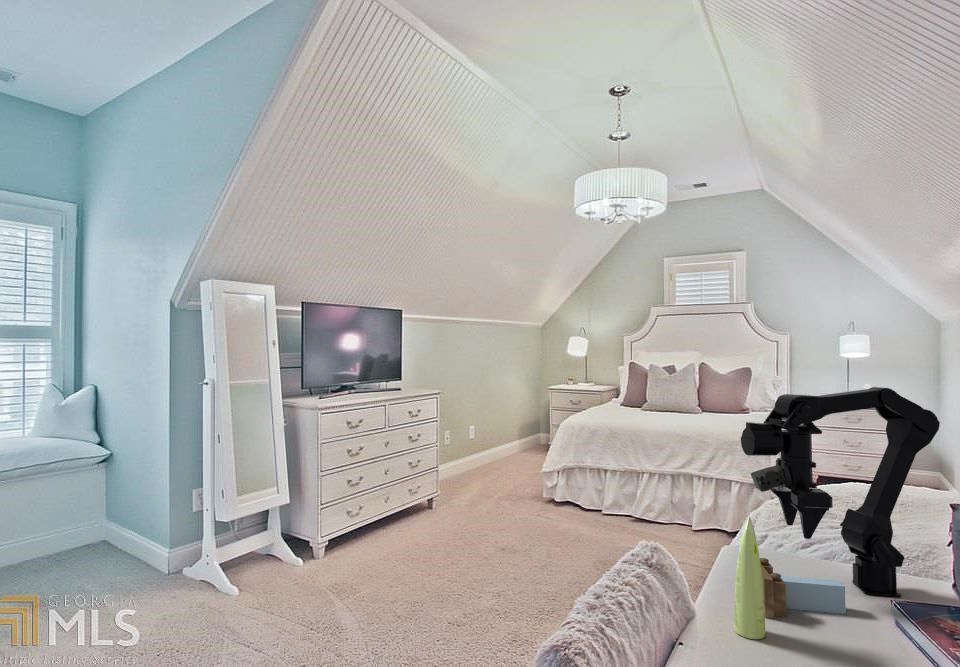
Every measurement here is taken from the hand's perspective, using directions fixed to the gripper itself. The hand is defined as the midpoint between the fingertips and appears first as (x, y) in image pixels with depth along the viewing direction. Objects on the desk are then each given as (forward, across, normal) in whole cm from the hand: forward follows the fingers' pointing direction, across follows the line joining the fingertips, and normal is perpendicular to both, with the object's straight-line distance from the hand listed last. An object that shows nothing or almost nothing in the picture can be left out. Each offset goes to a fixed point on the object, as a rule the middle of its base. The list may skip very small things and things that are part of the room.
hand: (798, 531), depth 114 cm
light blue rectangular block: (+12, +8, -2) cm, 14 cm away
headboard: (+12, +8, -9) cm, 17 cm away
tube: (+12, +21, -16) cm, 29 cm away
